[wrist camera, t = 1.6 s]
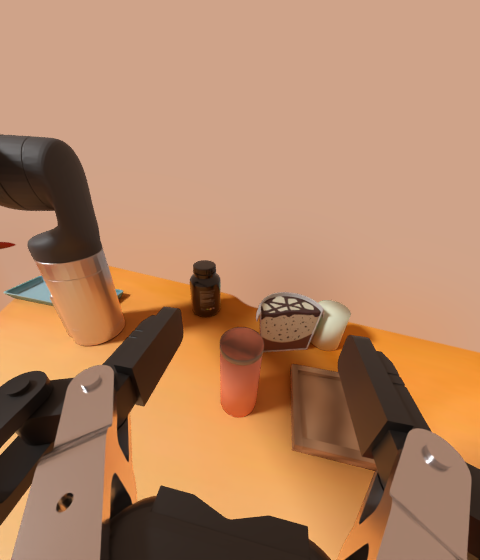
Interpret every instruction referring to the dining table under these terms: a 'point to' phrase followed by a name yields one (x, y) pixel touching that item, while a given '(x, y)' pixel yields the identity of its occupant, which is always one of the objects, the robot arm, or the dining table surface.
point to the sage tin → (331, 326)
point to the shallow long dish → (36, 291)
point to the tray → (323, 417)
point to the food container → (288, 321)
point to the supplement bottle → (205, 289)
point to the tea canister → (240, 370)
